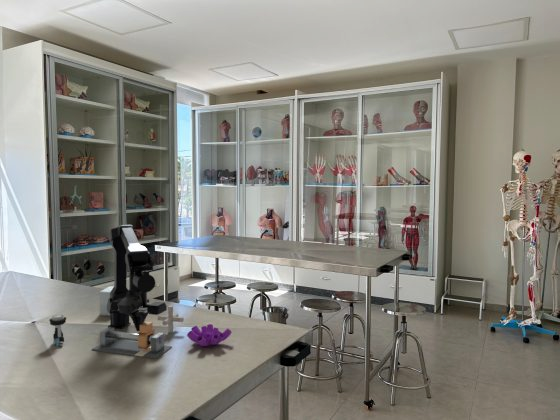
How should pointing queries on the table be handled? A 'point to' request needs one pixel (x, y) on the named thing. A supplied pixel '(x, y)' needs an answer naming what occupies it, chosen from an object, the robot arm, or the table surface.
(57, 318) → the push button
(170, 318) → the pipe connector
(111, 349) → the grey base plate
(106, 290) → the skincare box
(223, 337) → the purple tube cluster
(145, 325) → the collar
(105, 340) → the linear slide rail
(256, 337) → the table surface
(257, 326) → the table surface
